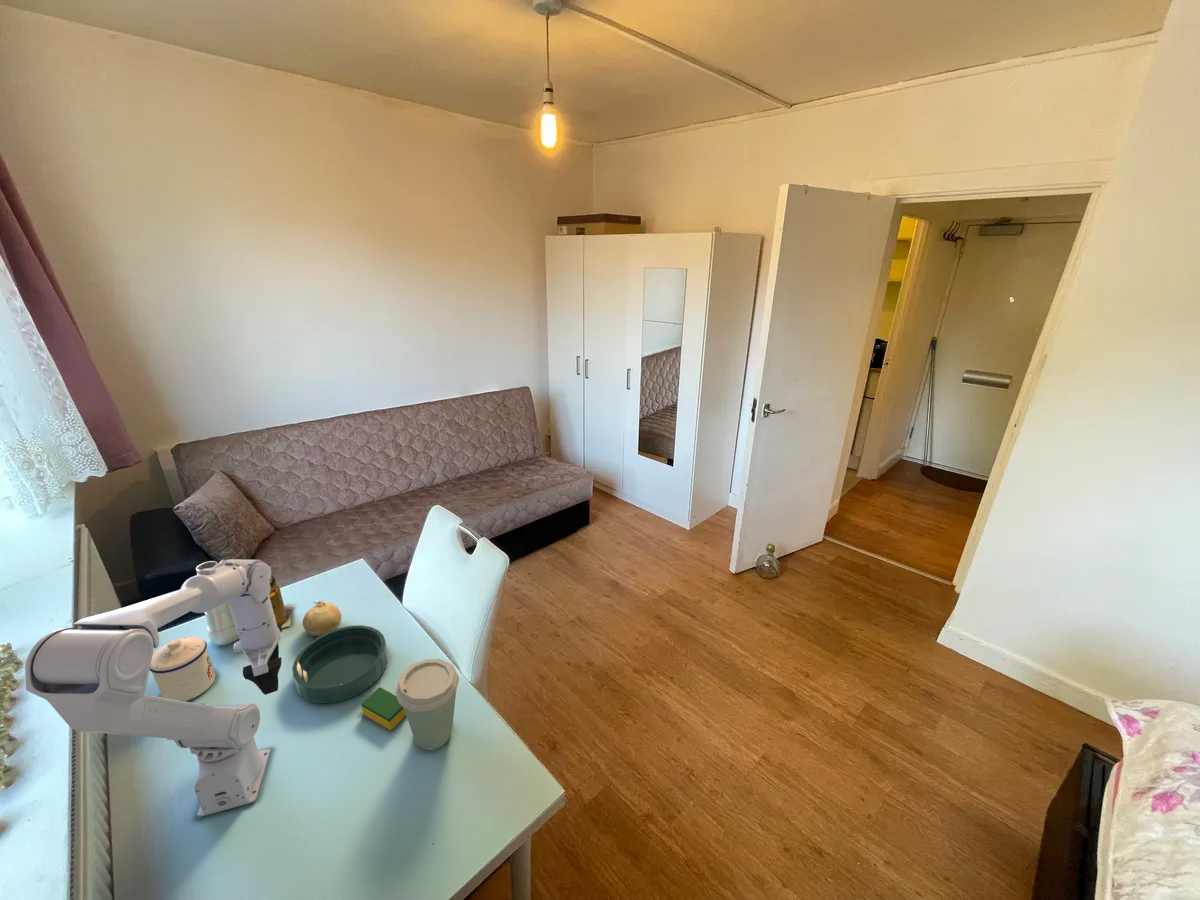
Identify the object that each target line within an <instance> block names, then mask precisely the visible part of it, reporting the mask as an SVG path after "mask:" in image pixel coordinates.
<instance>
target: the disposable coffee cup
mask: <svg viewBox="0 0 1200 900" xmlns="http://www.w3.org/2000/svg"><path fill="white" fill-rule="evenodd" d="M459 680H460V676H459V674H458V672H457V670H456V668H455V666H454V664H452V663H450V662H448V661H445V660H443V659H441V658H427V659H426V658H425V659H422V660H419V661H417V662H415V663H412V664H411V665H409V666H408V667H407V668H406V669H404V671H403V672H401V674H400V676H399V679H398V682H397V685H396V687H395V694H394V695H395V696H397V699H398V702H399V703H400V704H401V706H402V707H403V709H404V712H405V714H406V716H405V717H406V719H407V722H408V725H409V728H410V730H411V733H412V735H413V738H414V741H415V744H416V745H417V746H418V747H419V748H421V749H423V750H425V751H431V750H432V751H433V750H437V749H438V748H440V747H443V746H444V745H445V744H446V742H447V741H448V740H449V739H450V736H451V735H452V730H453V725H454V716H455V707H456V706H455V705H456V696H457V690H458V686H459Z"/></svg>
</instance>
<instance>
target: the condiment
mask: <svg viewBox="0 0 1200 900" xmlns="http://www.w3.org/2000/svg"><path fill="white" fill-rule="evenodd" d="M270 587H271V590H270V594H269V597H270V601H271V604H272V608H273V612H274V616H275V619H276V623H281V625H282V629H283V628H286V627H287V628H288V627H291V622H292V611H293V610H292V607H293V605H292V604H288V605H285V603H284V599H283V597H282V592H281V588H280V586H279V585H278V584H277V581H276V578H275V577H274V576H272V575H271V578H270Z"/></svg>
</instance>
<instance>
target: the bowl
mask: <svg viewBox="0 0 1200 900" xmlns="http://www.w3.org/2000/svg"><path fill="white" fill-rule="evenodd" d="M388 660H389V652H388V647H387V641H386V638H385V635H384V634H383V632H381V631H380V630H379V629H376V628H374V627H372V626H368V625H362V624H361V625H360V624H359V625H348V626H342V627H337V628H336V629H335V630H332V631H329V632H327V633H325V634H323V635H321V636H316V638H315V639H314V638H313V640H311V641H310V642H309V643H307V644H306V645H305V647H304V648H303V649H301V650H300V651H299V653H298V654H297V656H296V657H295V658H294V661H293V664H292V666H291V667H292V668H291V671H292V678H293V681H294V685H295V689H296V691H297V693H298V694H299V696H300V697H301V698H302V699H304V700H306V701H308V702H312V703H316V704H332V703H337V702H341V701H344V700H348V699H350V698H352V697H355V696H357V695H359V694H361V693H363V691H365V690H367V689H369V688H370V687H371V686H373V684H374V683H375V682H377V681H378V680H379V678H380V677H381V676H382V674H383V673H384V672H385V670H386V667H387V666H388V663H389V662H388Z"/></svg>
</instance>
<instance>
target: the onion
mask: <svg viewBox="0 0 1200 900" xmlns="http://www.w3.org/2000/svg"><path fill="white" fill-rule="evenodd" d="M313 604H314V605H313V607H311V608H310V609H309V610H308V611H306V613H305V614H304V616H303V619H302V627H303V629H304V630H305V632H306V633H308V634H309V635H311V636H312V637H316V638H317V637H319V636H321V635H323V634H325V633H327V632H329V631H332V630H335V629H338V628H339V627H338V626H340V624H341V621H342V612H341V610H340V609H339V608H338V606H336V605H335V604H333V603H331V602H324V600H318V601H317V602H316V601H313ZM315 604H316V605H315Z"/></svg>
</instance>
